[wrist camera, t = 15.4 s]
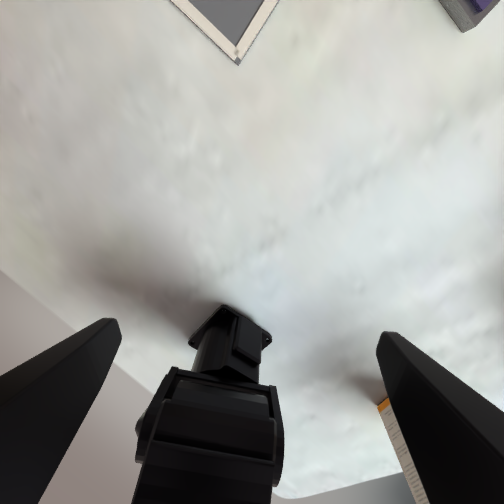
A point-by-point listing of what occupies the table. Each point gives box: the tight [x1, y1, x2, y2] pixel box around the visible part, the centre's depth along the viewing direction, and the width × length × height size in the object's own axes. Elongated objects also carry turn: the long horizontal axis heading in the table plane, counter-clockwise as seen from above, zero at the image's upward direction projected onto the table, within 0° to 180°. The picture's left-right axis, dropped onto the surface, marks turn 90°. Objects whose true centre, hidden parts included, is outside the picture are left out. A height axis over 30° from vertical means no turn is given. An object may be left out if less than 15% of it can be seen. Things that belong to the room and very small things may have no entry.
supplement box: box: [377, 398, 430, 504], centre depth 23 cm, size 8×5×13 cm, turn 63°
